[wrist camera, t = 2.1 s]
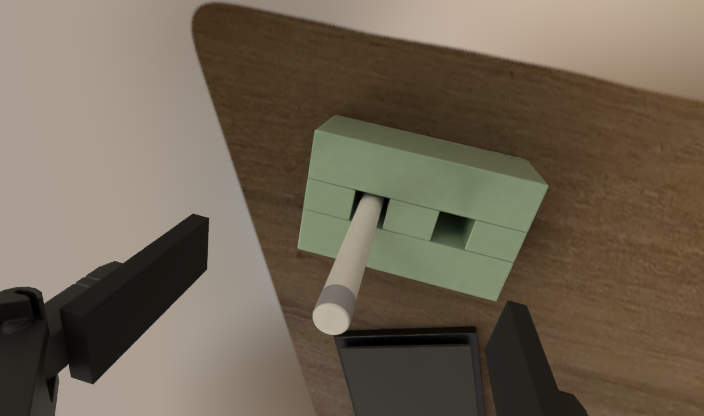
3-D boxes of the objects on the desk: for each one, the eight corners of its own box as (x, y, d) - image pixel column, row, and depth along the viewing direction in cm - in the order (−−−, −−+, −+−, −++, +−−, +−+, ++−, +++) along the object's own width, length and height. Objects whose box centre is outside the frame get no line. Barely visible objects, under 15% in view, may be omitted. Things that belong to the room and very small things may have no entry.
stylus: (364, 180, 27) (304, 316, 14) (379, 168, 27) (331, 298, 13) (377, 195, 28) (330, 342, 14) (392, 183, 27) (358, 325, 14)
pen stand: (334, 114, 26) (314, 129, 21) (527, 159, 25) (549, 185, 20) (317, 216, 29) (296, 248, 25) (485, 260, 28) (496, 302, 24)
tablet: (335, 330, 34) (333, 337, 33) (475, 326, 31) (476, 333, 30) (371, 463, 40) (370, 471, 39) (489, 470, 37) (491, 478, 37)
